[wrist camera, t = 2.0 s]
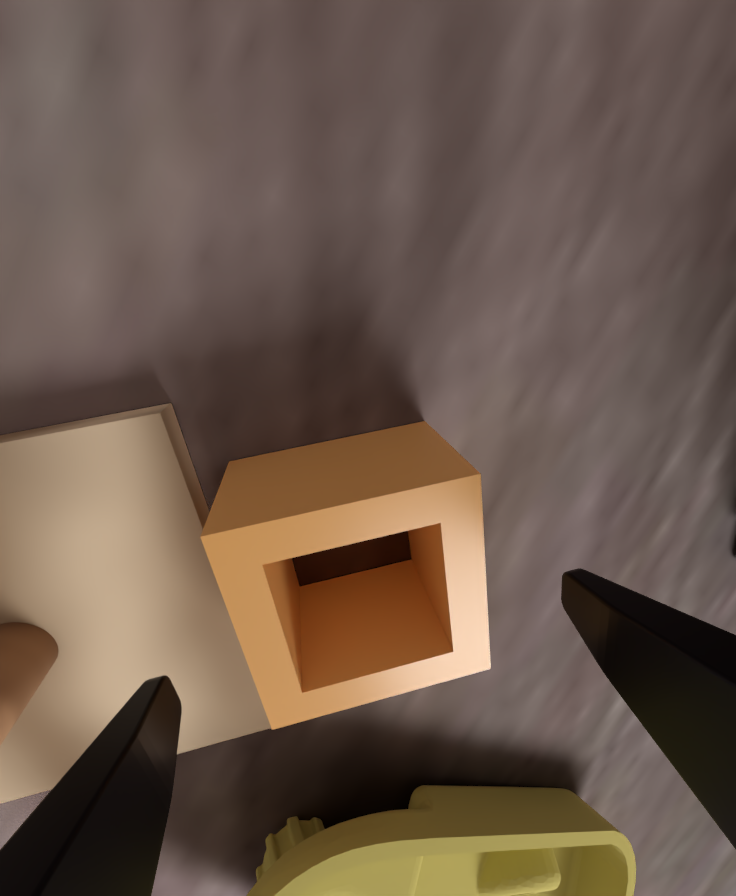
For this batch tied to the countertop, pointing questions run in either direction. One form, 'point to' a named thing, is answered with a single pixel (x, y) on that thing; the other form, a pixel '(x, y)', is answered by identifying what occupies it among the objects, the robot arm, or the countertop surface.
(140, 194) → the countertop surface
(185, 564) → the beige peg base
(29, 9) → the countertop surface
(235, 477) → the orange nut
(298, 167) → the countertop surface
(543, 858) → the plastic component
